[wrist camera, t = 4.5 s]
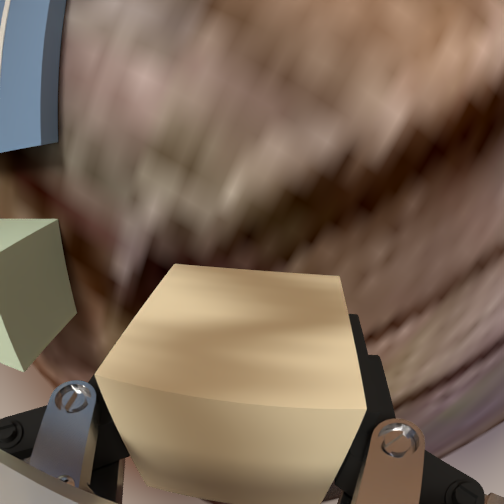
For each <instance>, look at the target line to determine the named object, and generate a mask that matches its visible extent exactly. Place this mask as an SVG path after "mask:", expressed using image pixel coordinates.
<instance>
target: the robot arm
mask: <svg viewBox="0 0 504 504" xmlns="http://www.w3.org/2000/svg"><path fill="white" fill-rule="evenodd" d="M348 315H349V319H350V324H351V329H352V333H353V338H354V343H355V347H356V352H357V357H358V362H359V368H360V373H361V378H362V384H363V389H364V395H365V401H366V406H367V410H366V413H365V415H364V417H363V420H362V422H361V424H360V427H359V429H358V431H357V433H356V436H355V438H354V440H353V442H352V444H351V446H350V448H349V451H348V453H347V455H346V457H345V459H344V461H343V463H342V465H341V467H340V469H339V471H338V473H337V475H336V477H335V479H334V480H335V485H336V486H338V487H339V488H340V489H342V491H341V494H340V497H339V500H338V503H337V504H504V497H501V496H499V495H496V494H494V493H490V494H489V495H486V494H484V491H483V488H482V487H481V485H480V484H479V483H478V482H477V481H476V480H474V479H473V478H471V477H469V476H467V475H466V474H464V473H462V472H461V471H459V470H457V469H456V468H454V467H452V466H450V465H449V464H447V463H445V462H444V461H442V460H440V459H439V458H437V457H436V456H434V455H432V454H431V453H429V452H427V451H426V450H425V440H424V435H423V433H422V431H421V430H420V429H419V428H418V427H417V426H416V425H415V424H413V423H412V422H410V421H407V420H404V419H396V418H395V413H394V409H393V405H392V401H391V397H390V393H389V389H388V385H387V381H386V377H385V373H384V370H383V366H382V362H381V359H380V357H379V356H378V355H368V353H367V349H366V344H365V340H364V336H363V333H362V329H361V325H360V321H359V317H358V315H357V314H348ZM120 337H121V336H120ZM118 340H119V339H118ZM115 344H116V343H115ZM113 347H114V346H113ZM111 350H112V349H111ZM108 354H109V353H108ZM106 357H107V356H106ZM104 360H105V359H104ZM102 363H103V362H102ZM102 363H101V364H102ZM99 367H100V366H99ZM97 370H98V369H97ZM95 373H96V372H95ZM129 456H130V454H129V452H128V450H127V448H126V446H125V444H124V442H123V440H122V438H121V436H120V434H119V432H118V430H117V428H116V425H115V423H114V421H113V419H112V417H111V414H110V412H109V410H108V407H107V405H106V403H105V400H104V398H103V396H102V393H101V391H100V388H99V386H98V383H97V381H96V378H95V375H93V377H92V378H91V379H90V381H89V382H88V383H87V382H84V381H79V380H75V381H69V382H65V383H63V384H61V385H60V386H58V387H57V388H56V389H55V390H54V391H53V393H52V395H51V397H50V400H49V403H48V405H46V406H43V407H40V408H37V409H33V410H30V411H26V412H23V413H19V414H16V415H12V416H8V417H5V418H3V419H0V504H122V495H123V480H124V468H125V458H126V457H129Z"/></svg>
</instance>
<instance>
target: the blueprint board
mask: <svg viewBox="0 0 504 504" xmlns="http://www.w3.org/2000/svg"><path fill="white" fill-rule="evenodd" d="M65 6H66V0H0V153H2V152H7V151H12V150H17V149H22V148H28V147H34V146H39V145H45V144H50V143H56V142H58V76H59V59H60V47H61V37H62V28H63V20H64V13H65Z"/></svg>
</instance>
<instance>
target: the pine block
mask: <svg viewBox="0 0 504 504" xmlns="http://www.w3.org/2000/svg"><path fill="white" fill-rule="evenodd" d="M94 375H95V378H96V381H97V383H98V386H99V388H100V391H101V393H102V396H103V398H104V400H105V403H106V405H107V407H108V410H109V412H110V414H111V417H112V419H113V421H114V423H115V425H116V428H117V430H118V432H119V434H120V436H121V438H122V440H123V442H124V444H125V446H126V448H127V450H128V452H129V454H130V456H131V458H132V460H133V462H134V464H135V465H136V467H137V469H138V471H139V473H140V475H141V476H142V478H143V480H144V482H145V483H146V485H147V486H150V487H153V488H157V489H161V490H165V491H169V492H173V493H178V494H182V495H186V496H191V497H196V498H202V499H207V500H213V501H219V502H225V503H232V504H321V502H322V501H323V499H324V497H325V495H326V493H327V492H328V490H329V488H330V486H331V484H332V482H333V480H334V479H335V477H336V475H337V473H338V471H339V469H340V467H341V465H342V463H343V461H344V459H345V457H346V455H347V453H348V451H349V448H350V446H351V444H352V442H353V440H354V438H355V436H356V433H357V431H358V429H359V427H360V424H361V422H362V420H363V417H364V415H365V413H366V410H367V406H366V401H365V395H364V389H363V384H362V378H361V373H360V368H359V362H358V357H357V352H356V347H355V343H354V338H353V333H352V329H351V324H350V319H349V315H348V311H347V306H346V302H345V298H344V293H343V289H342V285H341V281H340V277H339V276H329V275H314V274H299V273H285V272H271V271H257V270H244V269H231V268H218V267H206V266H193V265H181V264H174V265H173V266H172V268H171V269H170V270H169V272H168V273H167V274H166V276H165V277H164V278H163V280H162V281H161V282H160V284H159V285H158V286H157V288H156V289H155V290H154V292H153V293H152V294H151V296H150V297H149V298H148V300H147V301H146V302H145V304H144V305H143V306H142V308H141V309H140V310H139V312H138V313H137V315H136V316H135V317H134V319H133V320H132V321H131V323H130V324H129V326H128V327H127V328H126V330H125V331H124V333H123V334H122V335H121V337H120V338H119V340H118V341H117V342H116V344H115V345H114V347H113V348H112V350H111V351H110V352H109V354H108V355H107V357H106V358H105V360H104V361H103V363H102V364H101V365H100V367H99V368H98V370H97V371H96V373H95V374H94Z"/></svg>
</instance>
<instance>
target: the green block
mask: <svg viewBox="0 0 504 504" xmlns="http://www.w3.org/2000/svg"><path fill="white" fill-rule="evenodd" d="M76 314H77V311H76V307H75V303H74V299H73V295H72V291H71V286H70V282H69V277H68V273H67V268H66V263H65V258H64V253H63V247H62V241H61V235H60V229H59V223H58V219H0V363H2V364H5V365H7V366H10V367H12V368H15V369H17V370H20V371H22V372H25V371H26V370H27V368H28V367H29V366H30V365H31V364H32V363H33V361H34V360H35V359H36V358H37V357H38V356H39V355H40V353H41V352H42V351H43V350H44V349H45V348H46V347H47V345H48V344H49V343H50V342H51V341H52V340H53V339H54V338H55V337H56V335H57V334H58V333H59V332H60V331H61V330H62V329H63V328H64V327H65V326H66V325H67V323H68V322H69V321H70V320H71V319H72V318H73V317H74V316H75V315H76Z"/></svg>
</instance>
